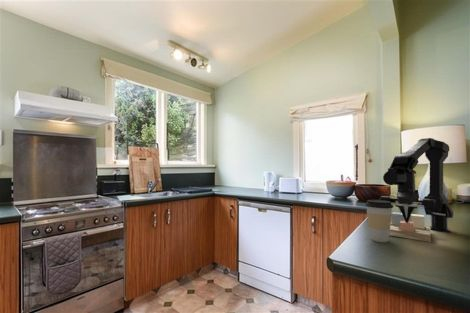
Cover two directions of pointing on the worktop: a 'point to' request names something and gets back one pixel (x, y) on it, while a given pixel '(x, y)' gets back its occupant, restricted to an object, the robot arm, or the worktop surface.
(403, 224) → the salmon pink block
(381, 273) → the worktop surface
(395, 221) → the slate-blue button
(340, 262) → the worktop surface
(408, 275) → the worktop surface
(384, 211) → the coffee cup
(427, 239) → the panel
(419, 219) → the cream button
